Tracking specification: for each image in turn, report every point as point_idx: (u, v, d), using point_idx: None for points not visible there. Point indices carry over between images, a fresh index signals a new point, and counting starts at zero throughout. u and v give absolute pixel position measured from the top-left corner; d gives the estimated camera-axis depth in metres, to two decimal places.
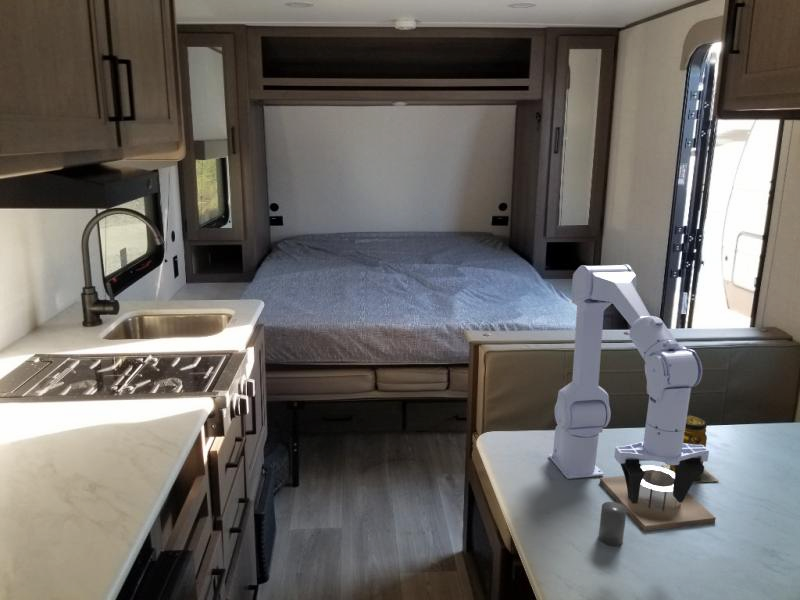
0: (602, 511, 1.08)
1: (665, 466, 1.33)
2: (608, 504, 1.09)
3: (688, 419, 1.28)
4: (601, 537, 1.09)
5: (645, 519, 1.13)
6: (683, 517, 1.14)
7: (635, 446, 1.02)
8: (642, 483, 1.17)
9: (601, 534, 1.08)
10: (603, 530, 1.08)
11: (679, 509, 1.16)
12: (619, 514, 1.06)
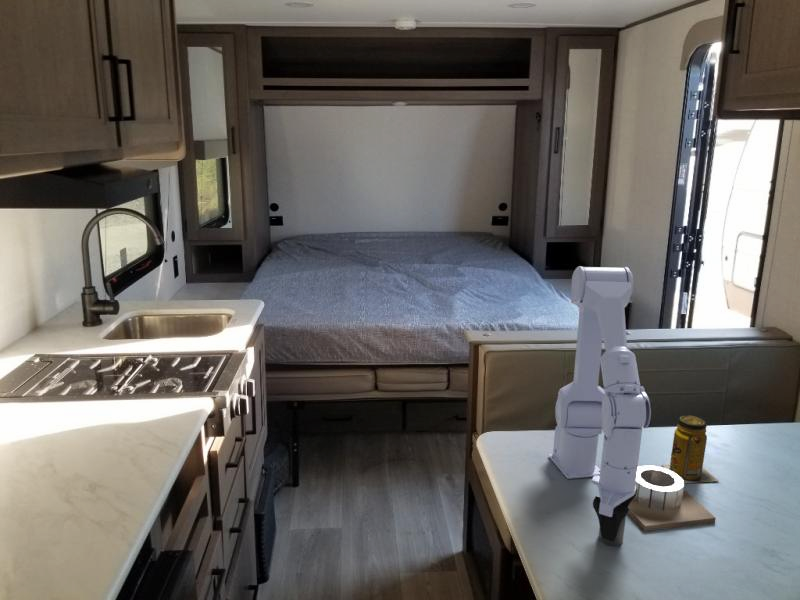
0: None
1: (665, 466, 1.33)
2: None
3: (688, 419, 1.28)
4: (601, 537, 1.09)
5: (645, 519, 1.13)
6: (683, 517, 1.14)
7: None
8: (642, 483, 1.17)
9: None
10: None
11: (679, 509, 1.16)
12: None
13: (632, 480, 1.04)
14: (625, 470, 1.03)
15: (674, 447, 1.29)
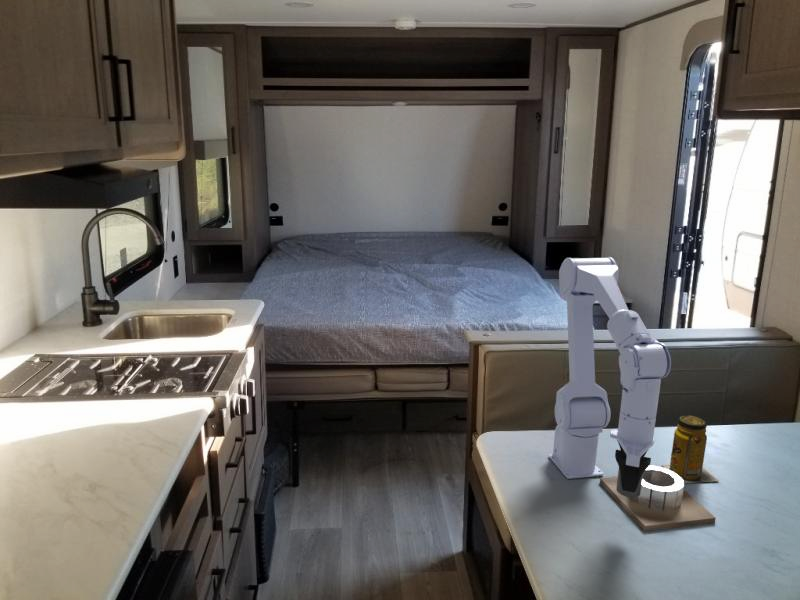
0: None
1: (665, 466, 1.33)
2: None
3: (688, 419, 1.28)
4: (620, 490, 1.10)
5: (645, 519, 1.13)
6: (683, 517, 1.14)
7: None
8: (642, 483, 1.17)
9: (620, 487, 1.10)
10: None
11: (679, 509, 1.16)
12: None
13: (652, 430, 1.06)
14: (647, 420, 1.04)
15: (674, 447, 1.29)
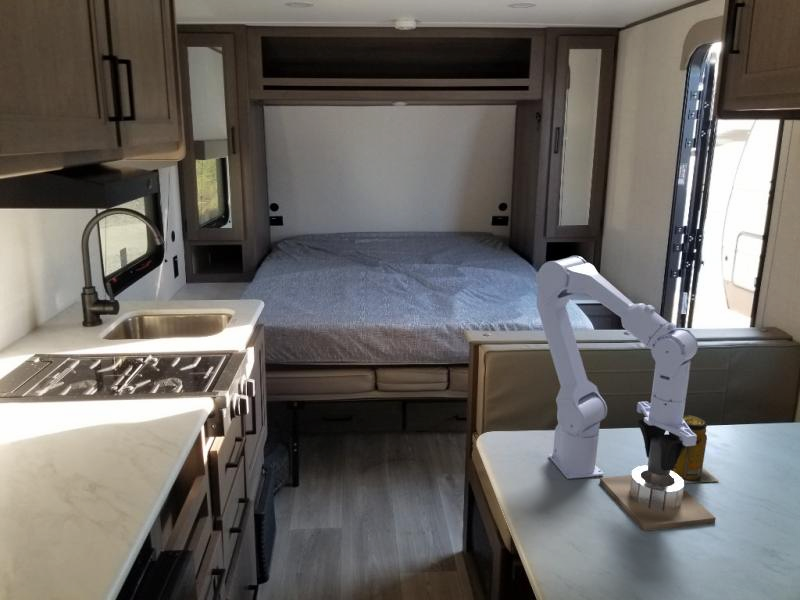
0: (658, 447, 1.16)
1: None
2: (656, 440, 1.17)
3: (688, 419, 1.28)
4: (658, 471, 1.17)
5: (645, 519, 1.13)
6: (683, 517, 1.14)
7: None
8: (642, 483, 1.17)
9: (659, 468, 1.17)
10: None
11: (679, 509, 1.16)
12: None
13: None
14: (684, 401, 1.13)
15: None
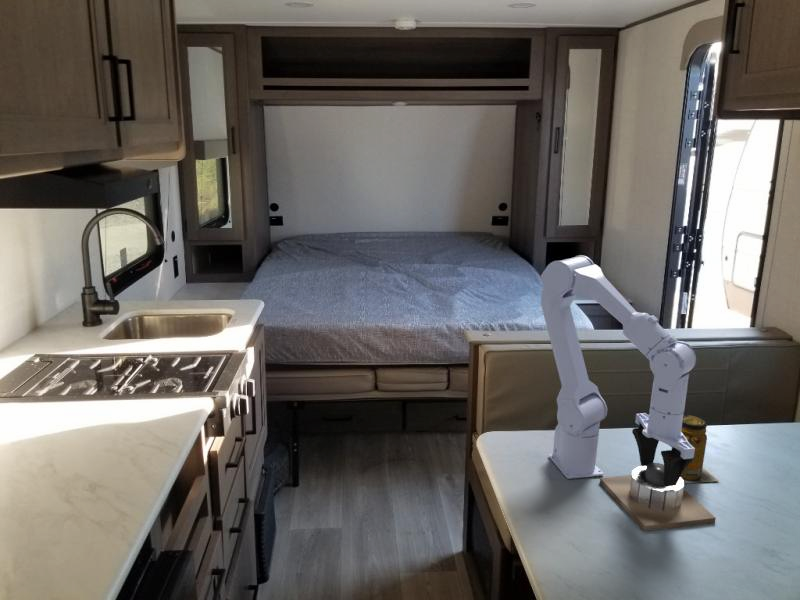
0: (654, 475, 1.17)
1: None
2: (651, 467, 1.19)
3: (688, 419, 1.28)
4: None
5: (645, 519, 1.13)
6: (683, 517, 1.14)
7: None
8: (642, 483, 1.17)
9: None
10: None
11: (679, 509, 1.16)
12: None
13: None
14: (682, 413, 1.14)
15: None
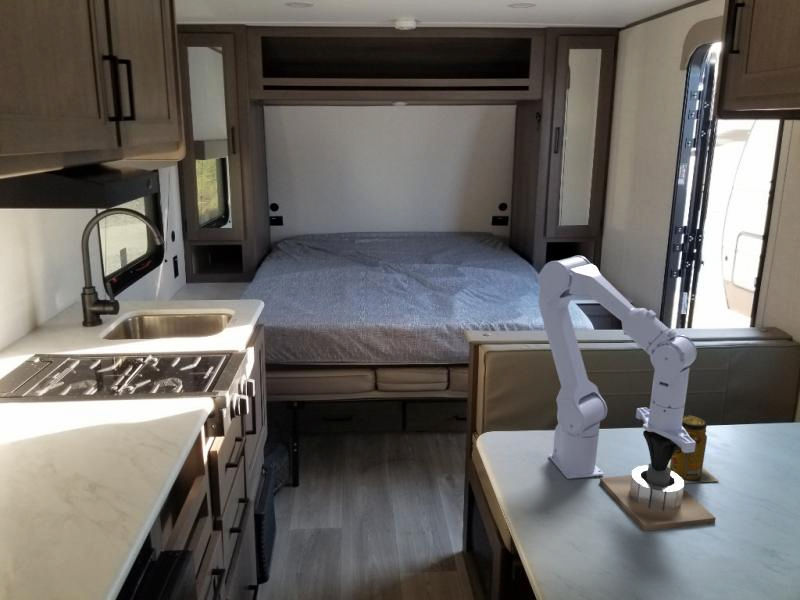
0: (656, 475, 1.17)
1: None
2: None
3: (688, 419, 1.28)
4: None
5: (645, 519, 1.13)
6: (683, 517, 1.14)
7: None
8: (642, 483, 1.17)
9: None
10: None
11: (679, 509, 1.16)
12: (669, 471, 1.18)
13: None
14: (683, 407, 1.13)
15: None
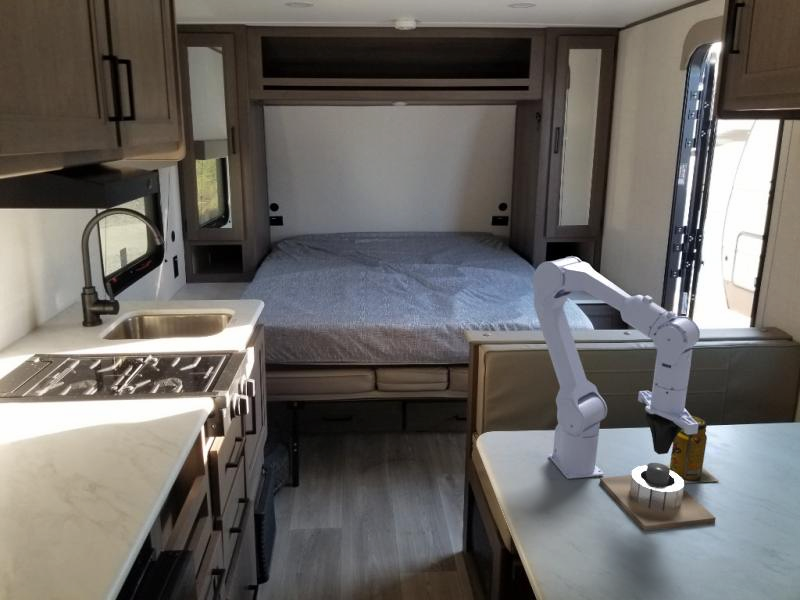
0: (655, 475, 1.17)
1: None
2: (652, 467, 1.19)
3: None
4: None
5: (645, 519, 1.13)
6: (683, 517, 1.14)
7: None
8: (642, 483, 1.17)
9: None
10: None
11: (679, 509, 1.16)
12: (668, 470, 1.18)
13: None
14: (686, 389, 1.12)
15: (674, 447, 1.29)
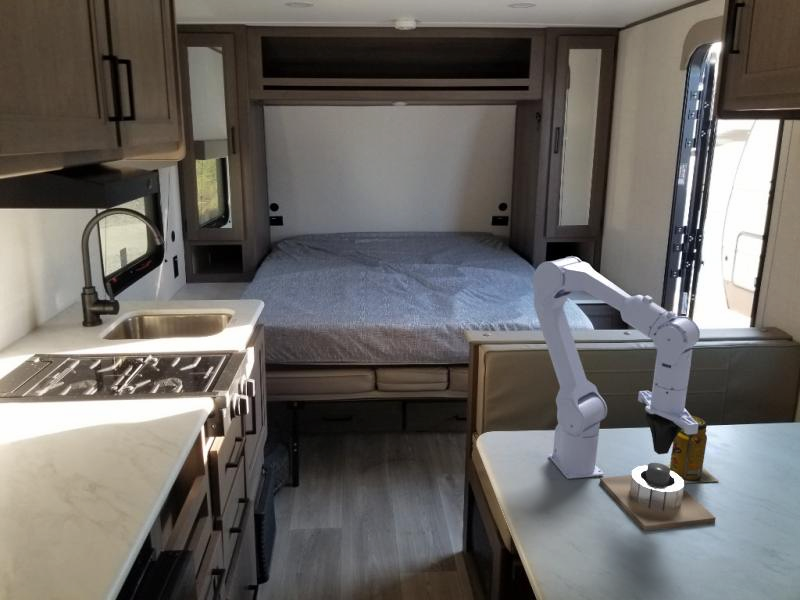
0: (655, 475, 1.17)
1: None
2: (652, 467, 1.19)
3: None
4: None
5: (645, 519, 1.13)
6: (683, 517, 1.14)
7: None
8: (642, 483, 1.17)
9: None
10: None
11: (679, 509, 1.16)
12: (668, 470, 1.18)
13: None
14: (686, 389, 1.12)
15: (674, 447, 1.29)
